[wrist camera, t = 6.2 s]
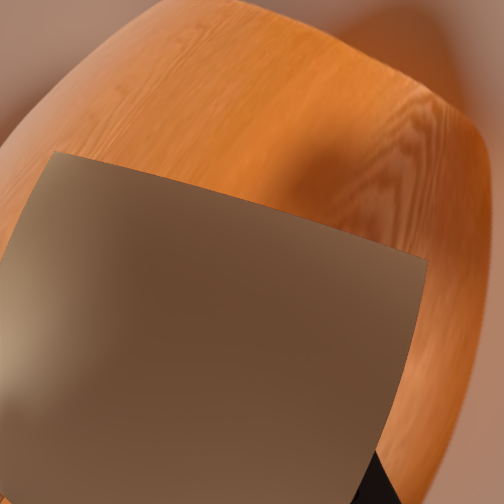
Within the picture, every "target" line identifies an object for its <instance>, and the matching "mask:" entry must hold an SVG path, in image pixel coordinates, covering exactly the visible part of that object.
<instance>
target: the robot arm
mask: <svg viewBox="0 0 504 504" xmlns="http://www.w3.org/2000/svg"><path fill="white" fill-rule="evenodd" d="M3 499H4V496H3V495H2V494H1V493H0V503H1V501H2V500H3ZM350 504H402V503H401V501H400V499H399V498H398V496H397V494H396V492H395V490H394V488H393V486H392V484H391V483H390V481H389V479H388V477H387V475H386V473H385V471H384V469H383V467H382V464H381V462H380V460H379V457H378V455H377V453H376V450H375V452H374V454H373V456H372V459H371V461H370V463H369V465H368V468H367V470H366V472H365V474H364V476H363V479H362V481H361V483H360V485H359V487H358V489H357V491H356V493H355V495H354V497H353V499H352V501H351V503H350Z"/></svg>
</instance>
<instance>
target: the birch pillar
mask: <svg viewBox="0 0 504 504" xmlns="http://www.w3.org/2000/svg"><path fill="white" fill-rule="evenodd" d="M427 266H428V260H425V259H422V258H420V257H417V256H414V255H411V254H409V253H406V252H403V251H400V250H397V249H395V248H392V247H389V246H386V245H383V244H380V243H377V242H375V241H372V240H369V239H366V238H363V237H360V236H357V235H354V234H351V233H348V232H345V231H342V230H339V229H336V228H333V227H330V226H327V225H324V224H321V223H318V222H314V221H311V220H308V219H305V218H302V217H299V216H295V215H292V214H289V213H286V212H283V211H279V210H276V209H273V208H270V207H266V206H263V205H260V204H256V203H253V202H250V201H246V200H243V199H239V198H236V197H232V196H229V195H226V194H222V193H219V192H215V191H212V190H208V189H204V188H201V187H197V186H194V185H190V184H186V183H183V182H179V181H175V180H171V179H168V178H164V177H160V176H156V175H152V174H149V173H145V172H141V171H137V170H133V169H129V168H125V167H121V166H117V165H113V164H108V163H104V162H100V161H96V160H92V159H87V158H83V157H79V156H74V155H70V154H65V153H61V152H56V151H54V153H53V155H52V156H51V158H50V160H49V162H48V163H47V165H46V167H45V169H44V170H43V172H42V174H41V176H40V178H39V179H38V181H37V183H36V185H35V187H34V189H33V191H32V193H31V195H30V197H29V199H28V201H27V203H26V205H25V207H24V209H23V211H22V213H21V215H20V217H19V220H18V222H17V224H16V226H15V229H14V231H13V233H12V235H11V238H10V240H9V243H8V245H7V247H6V250H5V252H4V255H3V258H2V260H1V263H0V493H1V494H2V495H3V496H4V497H5V498H7V499H8V500H9V501H10V502H11V503H12V504H350V503H351V501H352V499H353V497H354V495H355V493H356V491H357V489H358V487H359V485H360V483H361V481H362V479H363V476H364V474H365V472H366V470H367V468H368V465H369V463H370V461H371V459H372V456H373V454H374V452H375V449H376V447H377V444H378V442H379V439H380V437H381V434H382V432H383V429H384V426H385V424H386V421H387V418H388V416H389V413H390V410H391V407H392V404H393V401H394V398H395V395H396V392H397V389H398V386H399V383H400V380H401V377H402V373H403V370H404V367H405V363H406V360H407V356H408V352H409V349H410V345H411V341H412V337H413V333H414V329H415V325H416V321H417V317H418V312H419V308H420V303H421V298H422V293H423V288H424V283H425V277H426V271H427Z"/></svg>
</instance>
